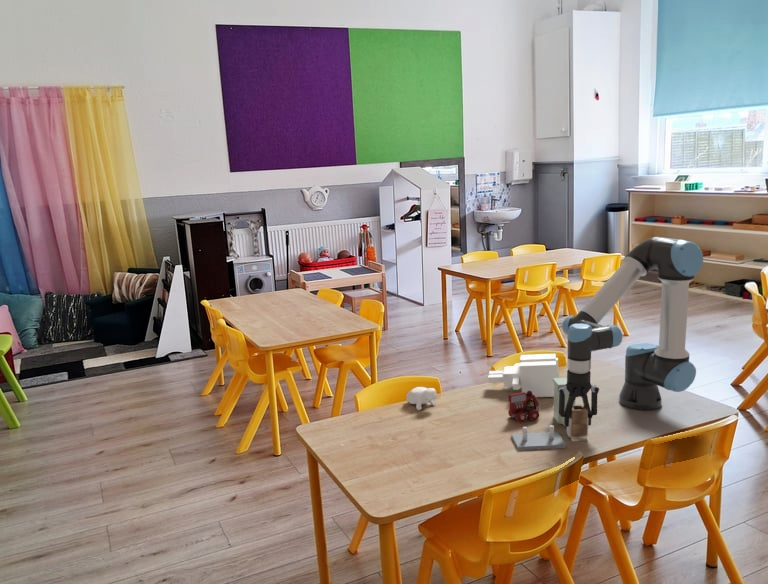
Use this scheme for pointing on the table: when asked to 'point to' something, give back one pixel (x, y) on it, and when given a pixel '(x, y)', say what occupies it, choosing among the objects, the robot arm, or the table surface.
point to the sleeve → (579, 423)
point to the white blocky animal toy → (421, 396)
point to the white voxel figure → (530, 374)
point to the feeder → (558, 383)
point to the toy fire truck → (523, 406)
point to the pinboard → (538, 440)
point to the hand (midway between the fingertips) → (577, 434)
